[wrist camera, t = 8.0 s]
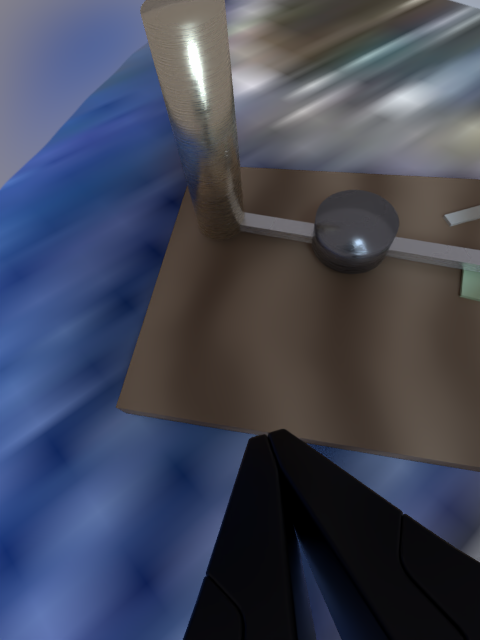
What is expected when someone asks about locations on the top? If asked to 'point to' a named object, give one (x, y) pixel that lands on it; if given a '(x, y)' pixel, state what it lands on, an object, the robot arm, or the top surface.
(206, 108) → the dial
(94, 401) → the top surface
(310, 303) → the brown flat board
